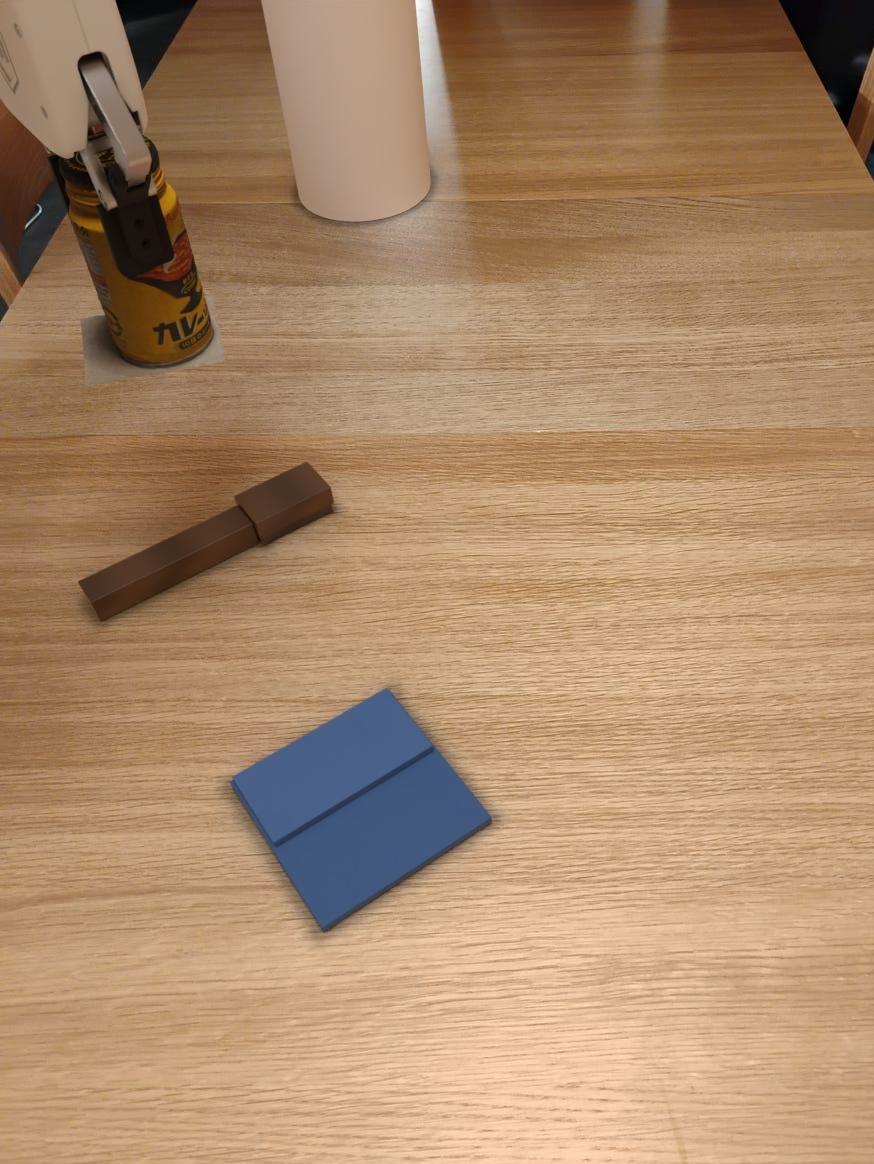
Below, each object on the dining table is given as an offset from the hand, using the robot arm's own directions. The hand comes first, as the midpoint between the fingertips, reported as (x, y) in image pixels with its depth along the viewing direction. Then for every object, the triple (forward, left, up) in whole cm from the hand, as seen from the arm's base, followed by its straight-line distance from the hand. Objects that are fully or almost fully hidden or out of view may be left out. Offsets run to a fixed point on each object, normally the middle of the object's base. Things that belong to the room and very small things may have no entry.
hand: (121, 239), depth 57 cm
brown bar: (-2, -4, -21) cm, 22 cm away
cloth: (-4, -28, -21) cm, 35 cm away
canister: (+33, +33, -21) cm, 51 cm away
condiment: (0, +1, -7) cm, 7 cm away
